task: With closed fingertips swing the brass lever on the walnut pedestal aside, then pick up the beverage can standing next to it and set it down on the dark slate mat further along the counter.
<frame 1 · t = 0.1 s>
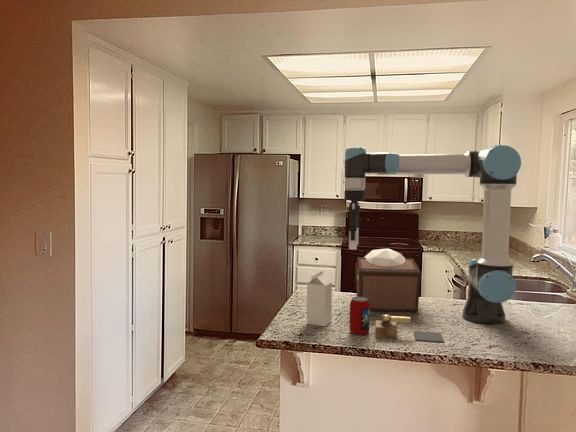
hand: (353, 247, 173), 28 cm above the countertop, fingers open, 13 cm apart
tissue box: (384, 305, 198), on the countertop
pedestal: (385, 334, 159), on the countertop
milk carton: (319, 323, 171), on the countertop
beverage can: (359, 333, 161), on the countertop
mat: (428, 337, 156), on the countertop
lever: (396, 319, 158), point 6 cm above the countertop, hinge at 0.0°
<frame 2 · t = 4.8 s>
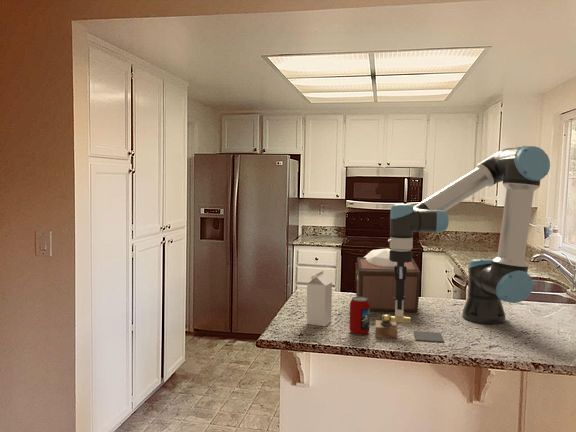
hand: (399, 317, 159), 6 cm above the countertop, fingers closed
lever: (396, 319, 158), point 6 cm above the countertop, hinge at 0.0°, touching gripper
everything else where it was.
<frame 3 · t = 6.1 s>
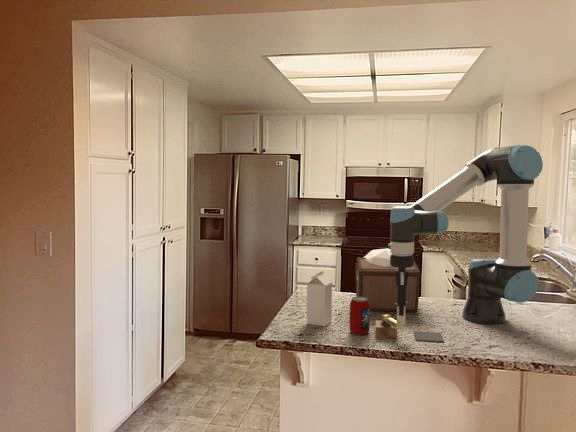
hand: (401, 324, 154), 5 cm above the countertop, fingers closed
lever: (390, 321, 155), point 6 cm above the countertop, hinge at 63.1°, touching gripper
everything else where it was.
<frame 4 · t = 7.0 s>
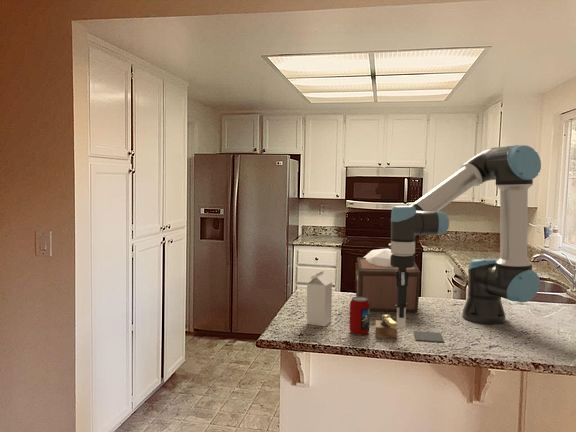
hand: (401, 326, 150), 5 cm above the countertop, fingers closed
lever: (389, 321, 155), point 6 cm above the countertop, hinge at 73.4°, touching gripper
everything else where it was.
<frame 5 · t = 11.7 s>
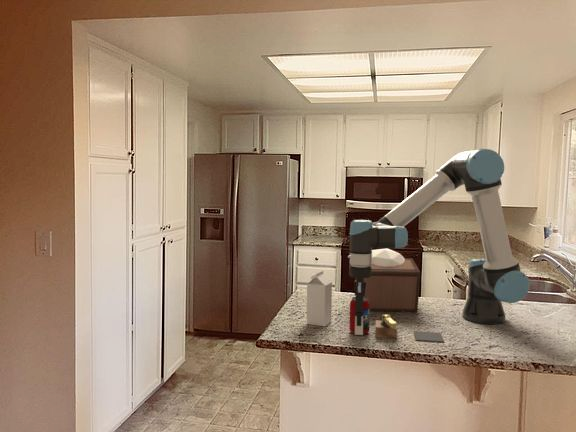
hand: (359, 331, 161), 1 cm above the countertop, fingers closed on beverage can, 7 cm apart
beverage can: (359, 333, 161), on the countertop, touching gripper
lever: (389, 321, 155), point 6 cm above the countertop, hinge at 73.7°
everything else where it was.
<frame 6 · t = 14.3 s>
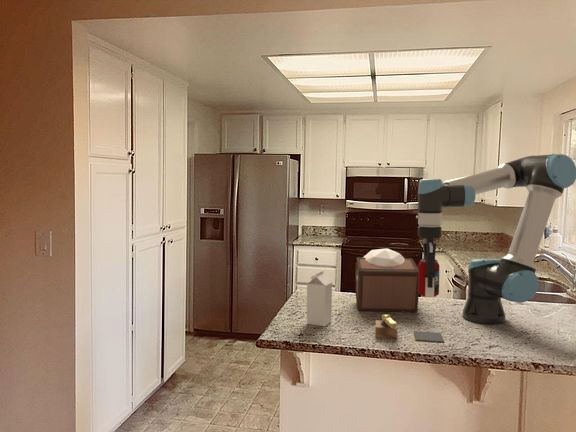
hand: (428, 294, 156), 15 cm above the countertop, fingers closed on beverage can, 7 cm apart
beverage can: (428, 296, 156), point 14 cm above the countertop, touching gripper
everything else where it was.
when the fingers open (2 cm above the countertop, at t = 17.1 s): beverage can drops 1 cm, resting on mat.
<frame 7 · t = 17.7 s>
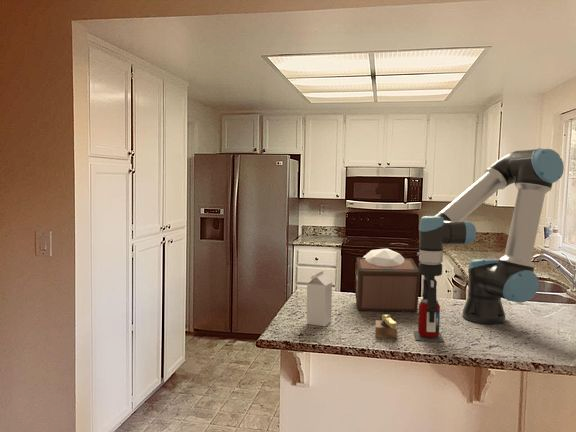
hand: (428, 325, 156), 4 cm above the countertop, fingers open, 13 cm apart
beverage can: (428, 336, 156), resting on mat
everything else where it was.
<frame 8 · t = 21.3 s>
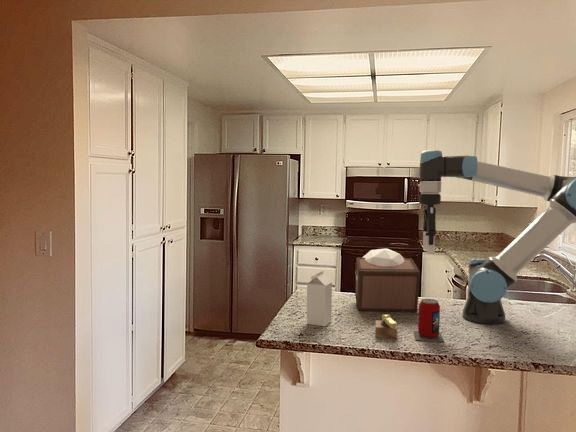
hand: (428, 251, 171), 27 cm above the countertop, fingers open, 13 cm apart
nothing on the countertop moved.
at the end: lever at +74° (first picture: +0°); beverage can 0.1 cm from the mat (horizontally); beverage can tilted 0° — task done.
